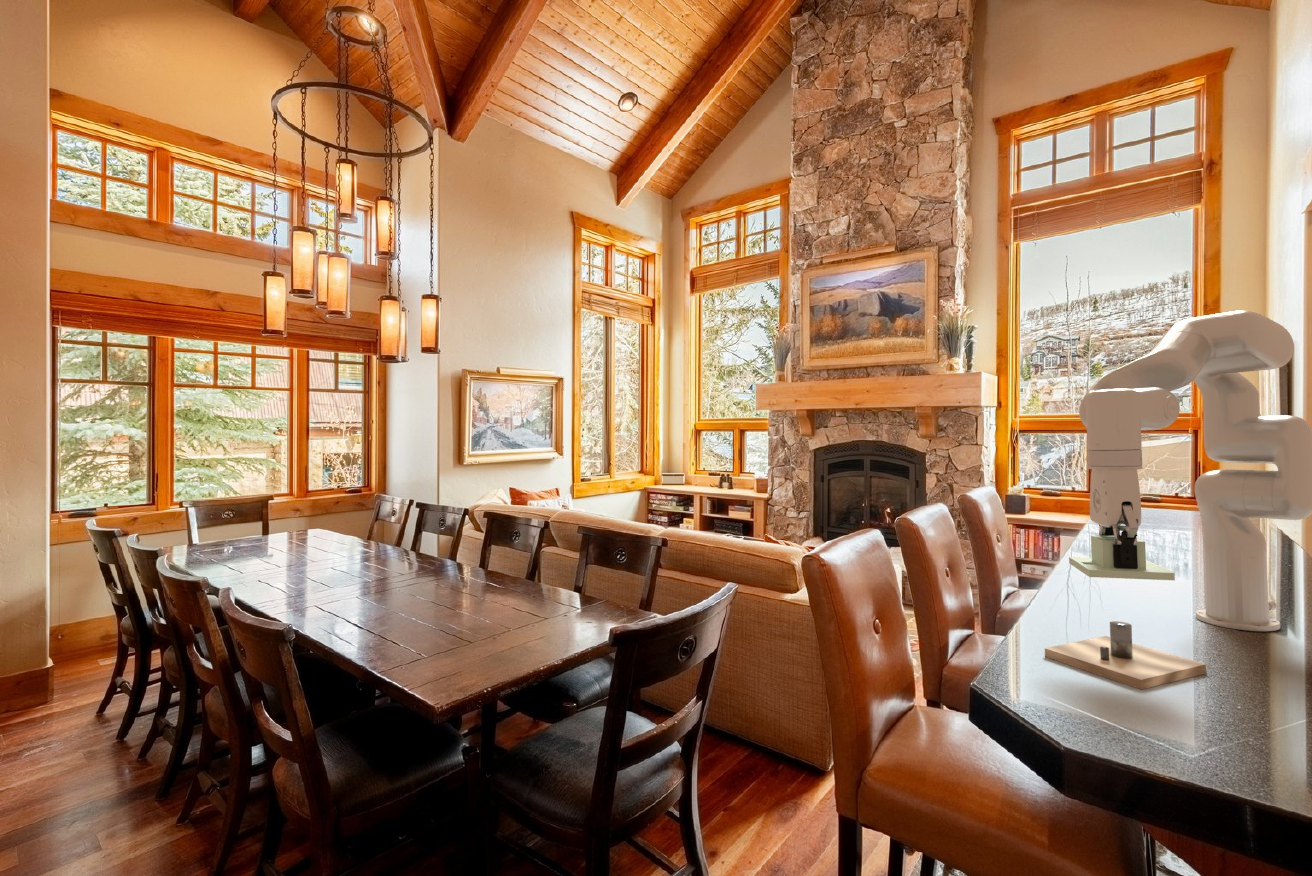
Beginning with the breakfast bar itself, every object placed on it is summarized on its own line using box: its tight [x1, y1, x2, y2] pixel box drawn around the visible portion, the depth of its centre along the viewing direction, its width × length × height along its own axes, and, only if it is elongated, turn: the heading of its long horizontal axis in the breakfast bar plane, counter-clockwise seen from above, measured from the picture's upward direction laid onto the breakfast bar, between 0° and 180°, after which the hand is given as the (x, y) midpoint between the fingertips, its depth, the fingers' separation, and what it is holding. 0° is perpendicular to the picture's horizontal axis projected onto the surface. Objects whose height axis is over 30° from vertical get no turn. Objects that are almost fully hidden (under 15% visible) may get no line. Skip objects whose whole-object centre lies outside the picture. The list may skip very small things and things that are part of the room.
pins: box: [1100, 620, 1133, 661], centre depth 104 cm, size 6×3×6 cm, turn 110°
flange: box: [1068, 534, 1176, 581], centre depth 105 cm, size 12×12×6 cm
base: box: [1044, 635, 1207, 690], centre depth 105 cm, size 16×16×2 cm
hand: (1118, 563), depth 105 cm, fingers closed on flange, 6 cm apart
